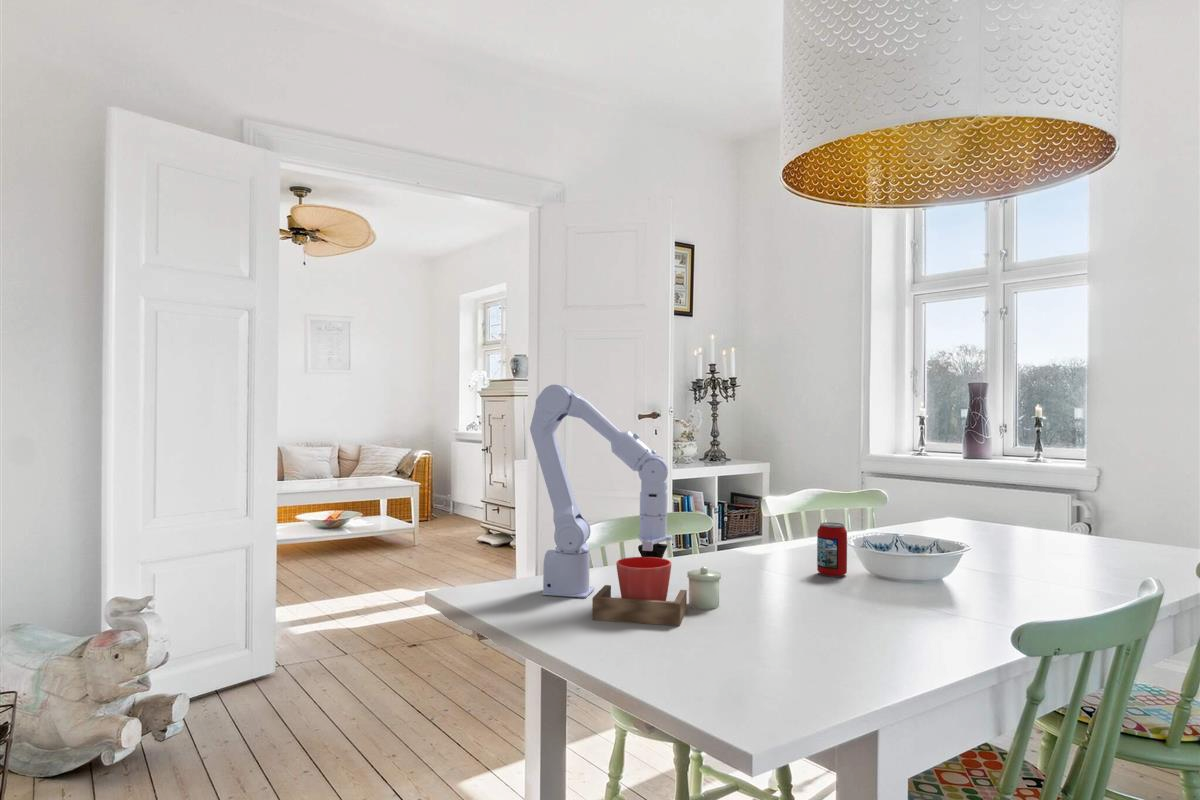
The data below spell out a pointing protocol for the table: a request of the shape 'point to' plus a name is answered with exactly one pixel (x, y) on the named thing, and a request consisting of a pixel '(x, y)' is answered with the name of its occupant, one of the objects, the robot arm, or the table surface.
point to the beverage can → (832, 549)
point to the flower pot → (644, 578)
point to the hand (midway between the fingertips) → (652, 579)
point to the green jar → (704, 588)
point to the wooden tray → (638, 609)
